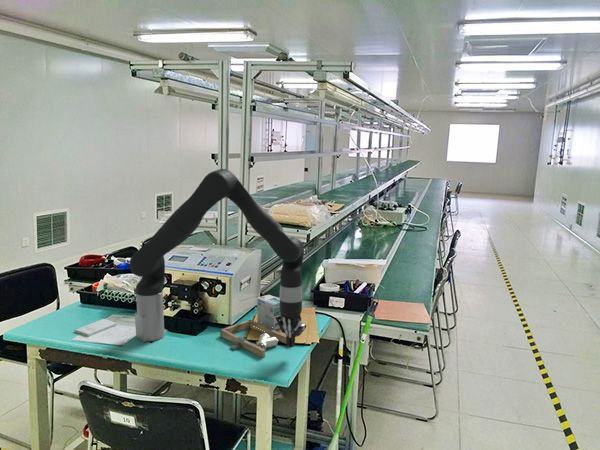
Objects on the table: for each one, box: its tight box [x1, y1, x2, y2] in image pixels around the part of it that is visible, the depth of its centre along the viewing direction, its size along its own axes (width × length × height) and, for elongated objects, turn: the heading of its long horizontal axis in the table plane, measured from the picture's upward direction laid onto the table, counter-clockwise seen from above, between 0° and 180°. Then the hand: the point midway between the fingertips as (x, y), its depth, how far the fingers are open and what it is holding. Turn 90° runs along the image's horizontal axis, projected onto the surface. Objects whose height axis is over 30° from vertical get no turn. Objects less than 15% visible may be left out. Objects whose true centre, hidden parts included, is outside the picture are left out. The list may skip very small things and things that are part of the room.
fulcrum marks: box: [229, 327, 281, 351], centre depth 171 cm, size 22×3×3 cm, turn 135°
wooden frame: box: [219, 319, 287, 358], centre depth 171 cm, size 14×24×2 cm, turn 45°
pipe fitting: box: [255, 333, 279, 351], centre depth 166 cm, size 8×4×7 cm
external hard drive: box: [74, 318, 118, 338], centre depth 179 cm, size 2×8×12 cm
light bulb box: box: [256, 294, 284, 330], centre depth 185 cm, size 11×7×11 cm, turn 44°
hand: (290, 346), depth 158 cm, fingers closed
